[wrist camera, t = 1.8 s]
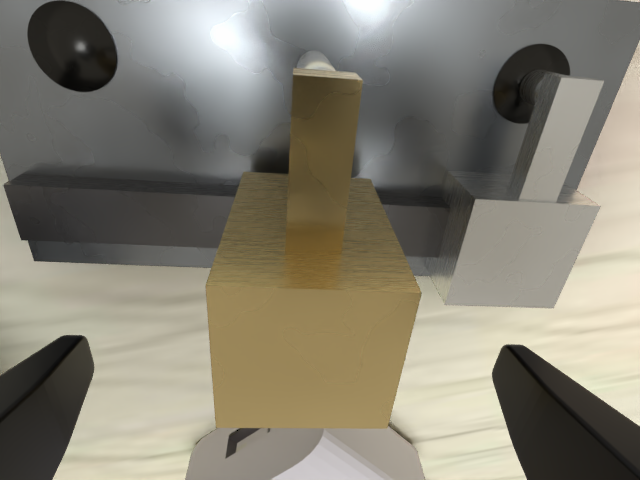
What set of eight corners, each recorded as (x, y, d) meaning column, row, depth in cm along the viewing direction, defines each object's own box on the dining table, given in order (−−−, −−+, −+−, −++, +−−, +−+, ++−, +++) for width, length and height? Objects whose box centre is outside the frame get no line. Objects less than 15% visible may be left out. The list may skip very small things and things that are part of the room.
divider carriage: (351, 266, 16) (387, 428, 10) (247, 262, 15) (216, 428, 9) (381, 56, 12) (469, 100, 6) (246, 45, 12) (191, 79, 6)
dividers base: (526, 267, 18) (574, 319, 15) (48, 247, 16) (-10, 302, 13) (630, 4, 13) (734, 1, 10) (-42, -64, 11) (-170, -93, 8)
